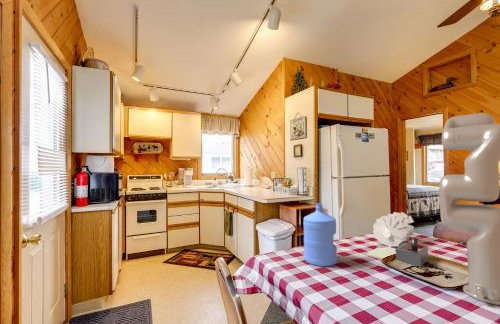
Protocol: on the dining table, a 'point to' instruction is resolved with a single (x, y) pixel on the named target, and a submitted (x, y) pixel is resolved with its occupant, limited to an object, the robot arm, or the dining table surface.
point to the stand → (414, 244)
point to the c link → (411, 255)
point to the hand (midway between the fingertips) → (483, 197)
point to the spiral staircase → (393, 229)
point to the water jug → (319, 238)
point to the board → (381, 253)
